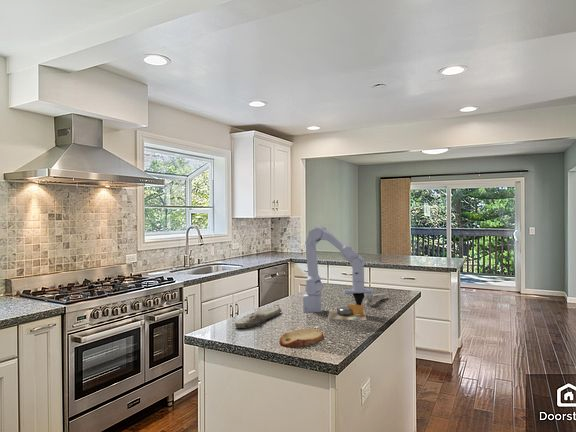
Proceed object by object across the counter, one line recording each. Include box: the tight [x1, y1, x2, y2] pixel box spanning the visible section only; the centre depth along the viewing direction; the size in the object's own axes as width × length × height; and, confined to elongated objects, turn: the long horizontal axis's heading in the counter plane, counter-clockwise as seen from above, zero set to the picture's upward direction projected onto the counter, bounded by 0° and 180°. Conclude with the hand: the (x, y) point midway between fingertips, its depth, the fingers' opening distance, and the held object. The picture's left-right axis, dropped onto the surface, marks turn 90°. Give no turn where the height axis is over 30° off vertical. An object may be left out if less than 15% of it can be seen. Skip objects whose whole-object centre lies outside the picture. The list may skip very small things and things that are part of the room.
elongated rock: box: [234, 307, 283, 329], centre depth 186 cm, size 35×5×10 cm
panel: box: [327, 309, 367, 321], centre depth 189 cm, size 18×18×1 cm
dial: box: [336, 303, 365, 316], centre depth 190 cm, size 13×8×5 cm, turn 72°
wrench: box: [363, 293, 388, 307], centre depth 219 cm, size 8×2×30 cm
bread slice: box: [279, 327, 324, 348], centre depth 155 cm, size 18×18×4 cm
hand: (358, 308), depth 191 cm, fingers closed, pressing on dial
